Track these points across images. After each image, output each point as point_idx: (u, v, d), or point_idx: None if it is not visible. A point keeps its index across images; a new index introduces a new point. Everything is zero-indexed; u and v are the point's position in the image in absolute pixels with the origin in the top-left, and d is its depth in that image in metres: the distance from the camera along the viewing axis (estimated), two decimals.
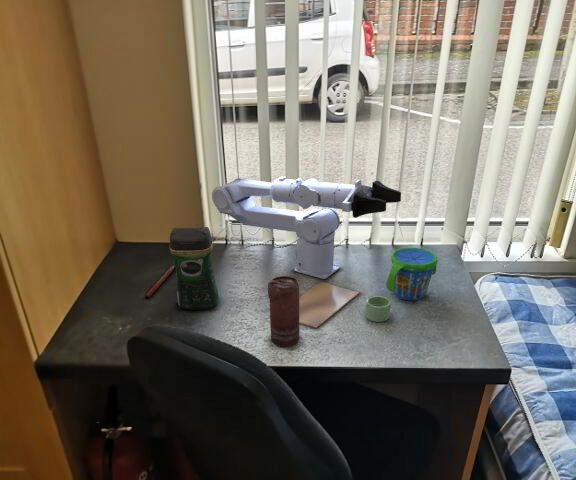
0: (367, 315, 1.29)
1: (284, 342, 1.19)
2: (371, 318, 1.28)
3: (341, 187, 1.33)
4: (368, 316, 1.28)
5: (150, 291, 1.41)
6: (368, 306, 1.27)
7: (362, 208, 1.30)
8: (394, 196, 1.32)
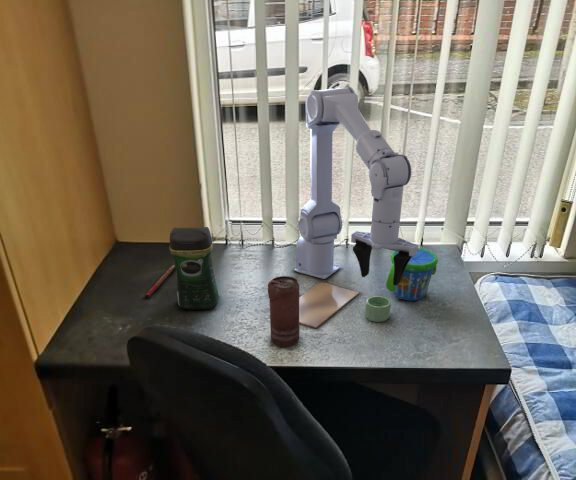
0: (367, 315, 1.29)
1: (284, 342, 1.19)
2: (371, 318, 1.28)
3: (374, 225, 1.16)
4: (368, 316, 1.28)
5: (150, 290, 1.40)
6: (368, 306, 1.27)
7: None
8: None
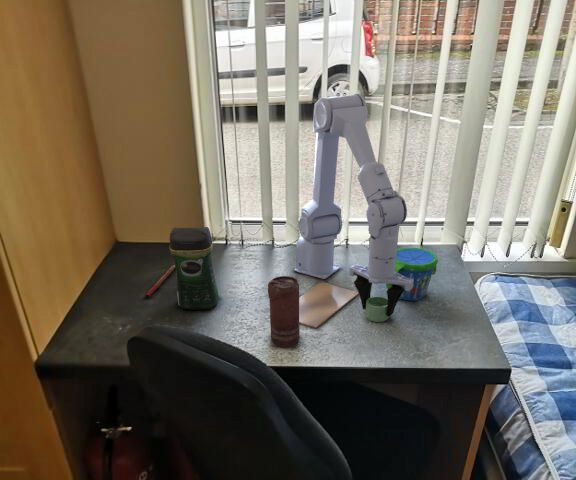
0: (367, 315, 1.29)
1: (284, 342, 1.19)
2: (371, 318, 1.28)
3: (371, 261, 1.21)
4: (368, 316, 1.28)
5: (150, 290, 1.40)
6: (368, 306, 1.27)
7: None
8: None
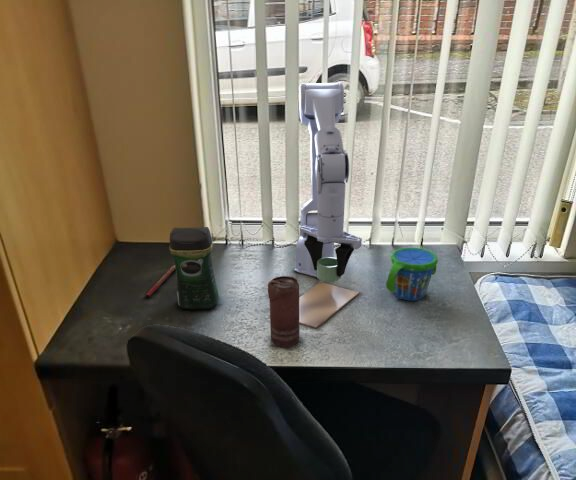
0: (318, 276, 1.29)
1: (284, 342, 1.19)
2: (322, 278, 1.28)
3: (319, 219, 1.21)
4: (319, 277, 1.29)
5: (150, 290, 1.40)
6: (319, 266, 1.27)
7: None
8: None
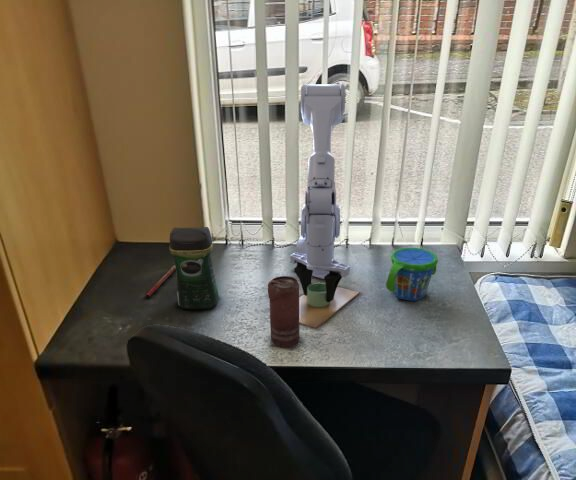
0: (308, 301, 1.34)
1: (284, 342, 1.19)
2: (312, 304, 1.33)
3: (308, 249, 1.26)
4: (309, 302, 1.33)
5: (151, 290, 1.40)
6: (308, 292, 1.32)
7: None
8: None
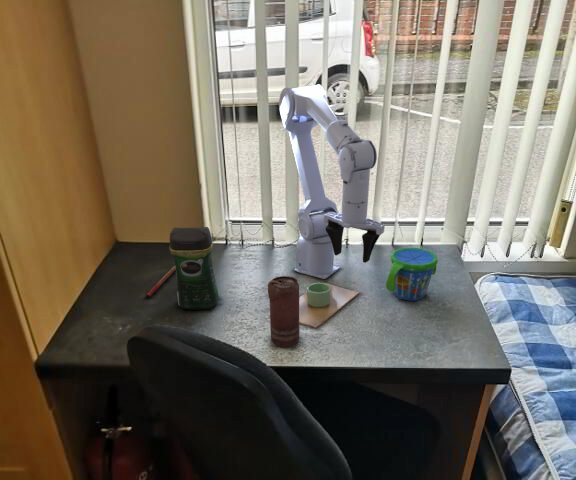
0: (308, 301, 1.34)
1: (284, 342, 1.19)
2: (312, 304, 1.33)
3: (344, 206, 1.26)
4: (309, 302, 1.33)
5: (151, 290, 1.40)
6: (308, 292, 1.32)
7: None
8: None
